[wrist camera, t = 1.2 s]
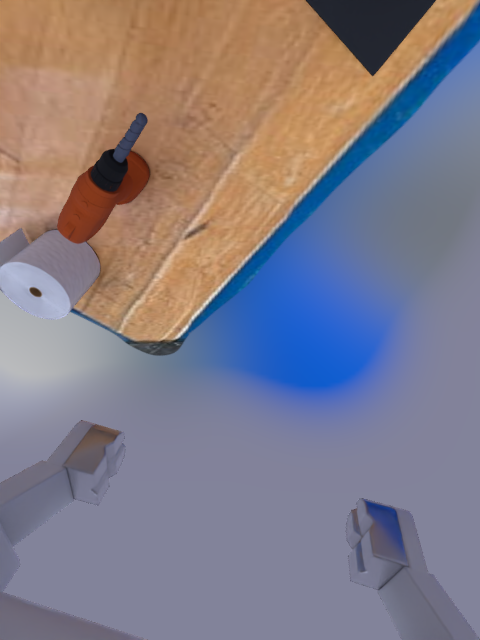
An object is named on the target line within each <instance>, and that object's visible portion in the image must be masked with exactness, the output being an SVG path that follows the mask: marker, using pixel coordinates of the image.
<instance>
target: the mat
mask: <svg viewBox="0 0 480 640" xmlns="http://www.w3.org/2000/svg"><path fill="white" fill-rule="evenodd" d="M306 1H307V2H308V3H309V4H310V5H311V7H312V8H313V9H314V10H315V11H316V12H317V13H318V14H319V16H320V17H321V18H322V19H323V20H324V21H325V22H326V24H327V25H328V26H329V27H330V28H331V29H332V30H333V32H334V33H335V34H336V35H337V36H338V37H339V38H340V40H341V41H342V42H343V43H344V44H345V45H346V46H347V47H348V49H349V50H350V51H351V52H352V53H353V54H354V55H355V57H356V58H357V59H358V60H359V61H360V62H361V63H362V65H363V66H364V67H365V68H366V69H367V70H368V71H369V73H370V74H371V75H372V76H374V74H375V73H376V72H377V71H378V70H379V68H380V67H381V66H382V65H383V64H384V62H385V61H386V60H387V59H388V58H389V56H390V55H391V54H392V53H393V52H394V50H395V49H396V48H397V47H398V45H399V44H400V43H401V42H402V41H403V39H404V38H405V37H406V36H407V35H408V33H409V32H410V31H411V30H412V29H413V27H414V26H415V25H416V24H417V23H418V21H419V20H420V19H421V18H422V17H423V15H424V14H425V13H426V12H427V11H428V9H429V8H430V7H431V6H432V5H433V3H434V2H435V1H436V0H306Z"/></svg>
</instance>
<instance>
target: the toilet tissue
mask: <svg viewBox="0 0 480 640" xmlns="http://www.w3.org/2000/svg"><path fill="white" fill-rule="evenodd" d="M99 274H100V263H99V260H98V258H97V256H96V254H95V252H94V251H93V249H92V248H91V247H90V246H89V245H88V244H87V243H86V242H83V243H81V244H76V243H73V242H71V241H69V240H68V239H66V238H65V237H64V236H62V235H61V234H60V232H59V231H58V230H50V231H48V232H45V233H44V234H42V235H41V236H39V237H38V238H37V239H35V240H34V242H32V243H31V244H29V242H28V240H27V239H26V237H25V235H24V233H23V231H22V228H20V229H19V230H17V231H16V232H15V233H13V234H11V235H10V236H9V237H7V238H6V239H4V240H3V241H2V242H0V290H1V291H2V292H3V293H4V294H5V295H6V296H7V297H8V298H9V299H10V300H11V301H12V302H13V303H14V304H16V305H17V306H18V307H19V308H21V309H23V310H24V311H26V312H28V313H30V314H32V315H34V316H37V317H40V318H45V319H59V318H63V317H64V316H66V315H67V314H68V313H69V312H70V311H71V309H72V308H73V307H74V306H75V305H76V304H77V302H78V301H79V300H80V299H81V297H82V296H83V295H84V294H85V293H86V292H87V290H88V289H89V288H90V286H92V284H93V283H94V282H95V280H96V279H97V278H98V276H99Z"/></svg>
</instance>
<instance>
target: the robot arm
mask: <svg viewBox="0 0 480 640" xmlns="http://www.w3.org/2000/svg"><path fill="white" fill-rule="evenodd" d="M124 439H125V436H124V432H121V431H118V430H114V429H111V428H107V427H104V426H100V425H97V424H94V423H90V422H87V421H83V420H81V421H80V422H79V423H77V424H76V425H75V426H74V428H73V429H72V430H71V431H70V433H69V434H68V435H67V436H66V438H65V439H64V440H63V441H62V443H61V444H60V445H59V446H58V448H57V449H56V450H55V451H54V453H53V454H52V455H51V456H50V457H49V459H48V460H47V461H40V462H39V463H37V464H35V465H33V466H31V467H29V468H27V469H26V470H23V471H22V472H20V473H18V474H16V475H14V476H12V477H10V478H9V479H7V480H5V481H3V482H1V483H0V640H146V639H143V638H140V637H138V636H134V635H131V634H128V633H125V632H122V631H119V630H116V629H113V628H110V627H107V626H104V625H101V624H98V623H95V622H92V621H89V620H86V619H83V618H80V617H76V616H74V615H70V614H67V613H65V612H62V611H58V610H55V609H52V608H49V607H46V606H43V605H40V604H37V603H34V602H31V601H28V600H25V599H22V598H19V597H16V596H13V595H10V594H7V593H4V592H3V591H4V589H5V588H6V586H7V584H8V583H9V582H10V580H11V579H12V577H13V576H14V574H15V572H16V571H17V569H18V568H19V566H20V559H19V558H18V556H17V554H16V552H15V550H14V548H13V546H14V545H16V544H17V543H18V542H20V541H21V540H22V539H24V538H25V537H26V536H28V535H29V534H30V533H32V532H33V531H34V530H36V529H37V528H38V527H40V526H41V525H42V524H44V523H45V522H46V521H48V520H49V519H50V518H52V517H53V516H54V515H56V514H57V513H58V512H60V511H61V510H62V509H63V508H65V507H66V506H68V505H69V504H70V503H72V502H73V501H74V499H75V500H79V501H83V502H86V503H90V504H94V505H99V504H100V502H101V500H102V498H103V497H104V495H105V493H106V491H107V490H108V488H109V478H110V477H112V476H114V475H115V474H117V472H118V470H119V468H120V466H121V464H122V462H123V459H124V456H125V446H124V444H123V443H122V442H123V440H124ZM356 505H357V508H356V509H354V510H351V512H350V513H349V515H348V518H347V523H346V539H347V542H348V543H349V545H350V547H351V548H352V551H351V552H350V554H349V556H348V561H349V571H350V581H352V582H355V583H358V584H361V585H364V586H367V587H370V588H373V589H376V590H379V591H378V594H379V596H380V598H381V600H382V601H383V604H384V606H385V608H386V610H387V611H388V613H389V615H390V618H391V620H392V621H393V624H394V625H395V627H396V629H397V631H398V633H399V635H400V637H401V639H402V640H480V639H479V637H478V636H477V635H476V633H475V632H474V630H473V629H472V628H471V626H470V625H469V624H468V622H467V621H466V619H465V618H464V617H463V615H462V614H461V612H460V611H459V610H458V608H457V607H456V606H455V604H454V603H453V601H452V600H451V599H450V597H449V596H448V594H447V593H446V592H445V591H444V589H443V588H442V586H441V585H440V583H439V582H438V581H437V579H436V578H435V576H434V575H432V574H429V573H428V570H427V567H426V563H425V559H424V556H423V552H422V548H421V545H420V541H419V537H418V534H417V530H416V527H415V523H414V519H413V516H412V514H411V513H410V512H409V511H407V510H404V509H400V508H396V507H392V506H390V505H386V504H382V503H378V502H375V501H371V500H367V499H363V498H362V499H359V500H358V501H357V503H356Z"/></svg>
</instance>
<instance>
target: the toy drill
mask: <svg viewBox="0 0 480 640" xmlns="http://www.w3.org/2000/svg"><path fill="white" fill-rule="evenodd" d="M147 121H148V120H147V117H146V115H144V114H143V113H139V114H137V116H136V120H134V121H133V122H132V124H131V126H130V129H128V131H127V132H126V134H125V137H123V139H122V140H121V141H120V142H119V143H120V144H118V145H117V147H116V148H115V149H110V150H107V151H105V152H104V153H103V154H102V156H101V158H100V160H98V161H97V162H96V164H95V165H94V166H92V167H90V168H89V169H88V170H87V171H86V172H85V173H83V174H82V175H80V176H79V177H78V179H77V181H76V183H75V185H74V186H73V188H72V190H71V193H70V196H69V198H68V200H67V202H66V204H65V205H64V207H63V209H62V211H61V213H60V216H59V219H58V225H57V228H58V231H59V232H60V234H61V235H62V236H64V237H65V238H66V239H68V240H69V241H71V242H73V243H76V244H81V243H83V242H85V241H87V240H89V239H90V238H92V237H93V236H94V235H95V234H96V233H97V232H98V231H99V230H100V229H101V227H102V226H103V225H104V223H105V222H106V220H107V219H108V217H109V215H110V213H111V211H112V210H113V208H114V207H115V205H116V204H117V205H122V204H126V203H129V202H131V201H132V200H133V199H135V198H136V197H137V196H138V194H139V193H140V192H141V191H142V189H143V188H144V187H145V185H146V183H147V182H148V179H149V174H150V173H149V168H148V166H147V164H146V163H145V161H144V160H143V159H142V158H141V157H140V156H139V155H138V154H136V153H134V152H132V151H130V150H131V148H132V147H133V145H134V143H135V141H136V140H137V138H138V137H139V135H140V134H141V132H142V130H143V129H144V127H145V125H146V124H147Z"/></svg>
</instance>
